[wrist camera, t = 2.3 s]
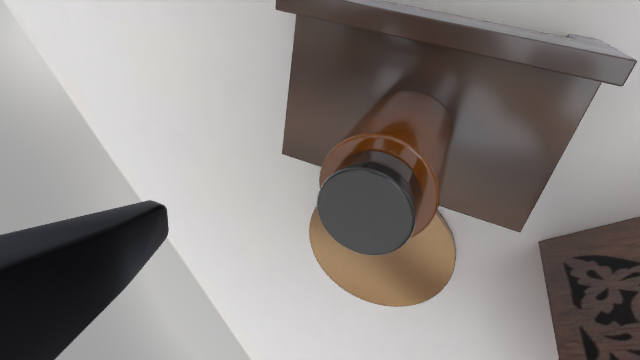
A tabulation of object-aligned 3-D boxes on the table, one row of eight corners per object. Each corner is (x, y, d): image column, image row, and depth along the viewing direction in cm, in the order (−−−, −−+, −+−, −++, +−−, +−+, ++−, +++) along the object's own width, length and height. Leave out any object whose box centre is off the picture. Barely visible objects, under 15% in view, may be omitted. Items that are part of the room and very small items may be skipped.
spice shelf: (517, 205, 19) (523, 260, 15) (301, 137, 22) (262, 169, 18) (601, 40, 15) (638, 60, 11) (321, -15, 18) (276, -14, 14)
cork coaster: (429, 322, 24) (428, 327, 24) (303, 270, 27) (301, 274, 26) (479, 211, 20) (479, 215, 19) (322, 160, 22) (319, 163, 22)
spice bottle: (438, 186, 17) (411, 287, 12) (356, 160, 18) (294, 242, 13) (468, 103, 15) (453, 178, 10) (374, 79, 16) (310, 134, 11)
